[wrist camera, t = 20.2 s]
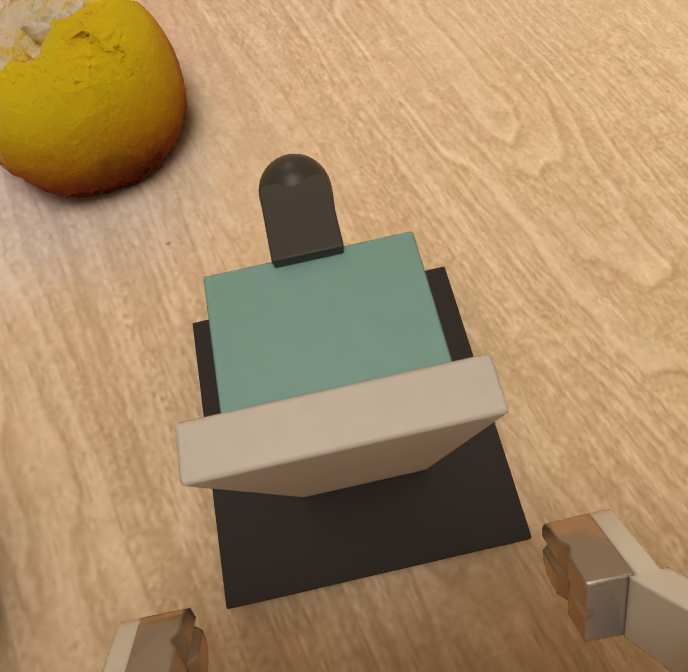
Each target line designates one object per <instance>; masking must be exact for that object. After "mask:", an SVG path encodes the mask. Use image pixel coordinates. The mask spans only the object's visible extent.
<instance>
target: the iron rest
mask: <svg viewBox="0 0 688 672" xmlns="http://www.w3.org/2000/svg"><path fill="white" fill-rule="evenodd" d="M425 274H426V277H427V280H428V283H429V287H430V290H431V293H432V297H433V300H434V303H435V307H436V310H437V313H438V317H439V320H440V323H441V327H442V330H443V333H444V337H445V340H446V343H447V347H448V350H449V353H450V357H451V360H452V362H453V361H457V360H462V359H466V358H471V357H473V354H472V351H471V348H470V344H469V341H468V338H467V335H466V332H465V329H464V326H463V323H462V320H461V316H460V313H459V310H458V307H457V304H456V301H455V298H454V295H453V292H452V289H451V285H450V282H449V279H448V276H447V273H446V270H445V267H440V268H435V269H431V270H427V271H425ZM193 330H194V338H195V347H196V355H197V363H198V372H199V380H200V389H201V397H202V405H203V414H204V417H207V416H212V415H216V414H221V411H220V403H219V395H218V388H217V380H216V372H215V364H214V356H213V348H212V340H211V333H210V325H209V320H205V321H200V322H196V323H193ZM213 498H214V506H215V515H216V523H217V531H218V540H219V548H220V557H221V565H222V573H223V582H224V590H225V599H226V607H227V609H231V608H235V607H239V606H243V605H248V604H252V603H256V602H261V601H265V600H269V599H274V598H278V597H282V596H287V595H291V594H295V593H299V592H304V591H308V590H312V589H317V588H321V587H325V586H330V585H334V584H338V583H343V582H347V581H351V580H356V579H360V578H364V577H368V576H373V575H377V574H381V573H386V572H390V571H394V570H399V569H403V568H407V567H412V566H416V565H420V564H424V563H429V562H433V561H437V560H442V559H446V558H450V557H455V556H459V555H463V554H468V553H472V552H476V551H481V550H485V549H489V548H493V547H498V546H502V545H506V544H511V543H515V542H519V541H524V540H528V539H531V534H530V531H529V528H528V525H527V522H526V519H525V515H524V512H523V509H522V506H521V503H520V500H519V497H518V494H517V491H516V487H515V484H514V481H513V478H512V475H511V472H510V469H509V466H508V463H507V459H506V456H505V453H504V450H503V447H502V444H501V441H500V438H499V435H498V432H497V428H496V425H495V422H493V423H492V424H491V425H489V426H488V427H486V428H485V429H483V430H482V431H481V432H479V433H478V434H476V435H475V436H473V437H472V438H470V439H469V440H468V441H466V442H465V443H463V444H462V445H460V446H459V447H458V448H456V449H455V450H453V451H452V452H450V453H449V454H448V455H446V456H445V457H443V458H442V459H440V460H439V461H437V462H436V463H435V464H433V465H432V466H430V467H429V468H427V469H426V470H422V471H418V472H413V473H409V474H404V475H400V476H396V477H391V478H387V479H382V480H378V481H373V482H369V483H365V484H360V485H356V486H351V487H347V488H342V489H338V490H334V491H329V492H325V493H320V494H316V495H312V496H307V497H297V496H287V495H276V494H265V493H254V492H243V491H233V490H222V489H213Z"/></svg>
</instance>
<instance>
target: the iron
mask: <svg viewBox="0 0 688 672" xmlns="http://www.w3.org/2000/svg"><path fill="white" fill-rule="evenodd" d="M259 198H260V203H261V206H262V211H263V217H264V222H265V228H266V233H267V238H268V244H269V249H270V255H271V260H272V262H271V263H266V264H262V265H257V266H253V267H248V268H244V269H239V270H235V271H230V272H226V273H221V274H217V275H212V276H207V277H205V278H204V286H205V293H206V301H207V309H208V317H209V325H210V333H211V340H212V348H213V356H214V364H215V372H216V380H217V388H218V395H219V403H220V411H221V414H216V415H212V416H207V417H203V418H198V419H194V420H189V421H185V422H180V423H179V424H177V425H176V439H177V450H178V461H179V471H180V482H181V483H182V485H183V486H190V487H200V488H211V489H222V490H233V491H243V492H254V493H265V494H276V495H287V496H297V497H307V496H312V495H316V494H320V493H325V492H329V491H334V490H338V489H342V488H347V487H351V486H356V485H360V484H365V483H369V482H373V481H378V480H382V479H387V478H391V477H396V476H400V475H404V474H409V473H413V472H418V471H422V470H426V469H427V468H429V467H430V466H432V465H433V464H435V463H436V462H437V461H439V460H440V459H442V458H443V457H445V456H446V455H448V454H449V453H450V452H452V451H453V450H455V449H456V448H458V447H459V446H460V445H462V444H463V443H465V442H466V441H468V440H469V439H470V438H472V437H473V436H475V435H476V434H478V433H479V432H481V431H482V430H483V429H485V428H486V427H488V426H489V425H491V424H492V423H493V422H495V421H496V420H498V419H499V418H501V417H502V416H503V415H505V414H506V413H508V405H507V402H506V399H505V396H504V393H503V389H502V386H501V383H500V380H499V377H498V374H497V371H496V368H495V365H494V362H493V359H492V357H491V356H490V355H487V354H484V355H480V356H475V357H471V358H466V359H462V360H457V361H453V362H452V360H451V357H450V353H449V350H448V347H447V343H446V340H445V337H444V333H443V330H442V327H441V323H440V320H439V317H438V313H437V310H436V307H435V303H434V300H433V297H432V293H431V290H430V287H429V283H428V280H427V277H426V274H425V270H424V267H423V264H422V260H421V257H420V254H419V250H418V247H417V244H416V240H415V237H414V234H413V232H406V233H402V234H397V235H393V236H388V237H384V238H379V239H375V240H370V241H366V242H361V243H357V244H352V245H348V246H344V245H343V240H342V236H341V232H340V228H339V224H338V220H337V216H336V212H335V206H334V199H333V192H332V185H331V182H330V179H329V176H328V174H327V173H326V171H325V170H324V168H323V167H322V166H321V165H320V164H319V163H318V162H317V161H315V160H314V159H312V158H310V157H308V156H305V155H301V154H288V155H284V156H281V157H279V158H277V159H275V160H274V161H273V162H271V163H270V164H269V165H268V166H267V168H266V169H265V171H264V172H263V174H262V177H261V179H260V184H259Z"/></svg>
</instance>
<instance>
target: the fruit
mask: <svg viewBox="0 0 688 672" xmlns="http://www.w3.org/2000/svg"><path fill="white" fill-rule="evenodd" d="M186 108H187V106H186V90H185V85H184V80H183V76H182V72H181V69H180V65H179V62H178V59H177V57H176V54H175V52H174V49H173V47H172V45H171V44H170V42H169V40H168V38H167V36H166V34H165V33H164V31H163V30H162V28H161V27H160V26H159V24H158V23H157V21H156V20H155V19H154V17H153V16H152V15H151V14H150V13H149V12H148V11H147V10H146V9H145V8H144V7H143V6H142V5H141V4H140V3H138V2H137V1H135V0H133V1H131V0H11V1H10V2H9V4H6V5H4V7H3V9H2V10H1V11H0V164H1V165H2V166H3V167H4V168H5V169H6V170H8V171H9V172H10V173H11V174H12V175H15V176H18V177H21V178H23V179H24V180H25V181H27V182H29V183H31V184H33V185H35V186H36V187H39V188H41V189H43V190H45V191H47V192H53V193H56V194H60V195H61V196H67V197H69V196H72V197H76V198H78V199H79V198H80V197H87V196H91V195H94V194H98V193H100V192H102V193H110V192H112V191H114V190H117V189H119V188H127V187H129V186H131V185H134V184H137V183H138V182H140V181H141V180H143V179H144V178H146V177H148V176H149V175H150V174H152V173H153V172H155V171H156V170H158V169H159V168H160V167H161V165H162V163H163V162H164V161H165V160H166V158H167V156H168V155H169V154H170V152H171V151H172V149H173V148H174V146H175V144H176V142H177V141H178V138H179V136H180V132H181V130H182V128H183V123H184V120H185V111H186Z"/></svg>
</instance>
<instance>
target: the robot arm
mask: <svg viewBox="0 0 688 672" xmlns="http://www.w3.org/2000/svg"><path fill="white" fill-rule="evenodd" d="M542 536H543V538H544V540H545V541H546V543H547V545H546V546H545V548H544V549H543V560H544V564H545V568H546V572H547V574H548V577H549V579H550V581H551V584H552V585H553V587H554V589H555V591H556V593H557V594H558V595H560V596H561V597H563V598H564V599H566V600H568V614H569V616H570V618H571V619H572V621H573V623H574V625H575V626H576V628H577V630H578V632H579V633H580V635H581V637H582V639H583V640H584V642H589V641H594V640H599V639H604V638H608V637H613V636H618V635H623V634H625V635H624V637H626V638H627V639H628V640H630V641H631V642H632V643H634V644H635V645H636V646H638V647H639V648H640V649H641V650H643V651H644V652H645V653H647V654H648V655H649V656H651V657H652V658H653V659H655V660H656V661H657V662H659V663H660V664H661V665H663V666H664V667H665V668H667V669H668V670H669V671H671V672H688V578H687V577H685V576H683V575H682V574H680V573H678V572H676V571H674V570H672V569H670V568H664V569H661V568H660V567H659V565H658V564H657V563H656V562H655V561H654V559H653V558H652V557H651V556H650V555H649V553H648V552H647V551H646V550H645V549H644V547H643V546H642V545H641V544H640V543H639V541H638V540H637V539H636V538H635V537H634V535H633V534H632V533H631V532H630V531H629V529H628V528H627V527H626V526H625V525H624V523H623V522H622V521H621V520H620V519H619V517H618V516H617V515H616V514H615V512H613V511H611V510H610V509H607V510H602V511H598V512H594V513H590V514H587V515H586V514H583V515H579V516H575V517H571V518H567V519H563V520H559V521H555V522H551V523H547V524H544V526H543V528H542ZM195 619H196V617H195V615H194V613H193V612H192V610H191V608H188V609H183V610H178V611H173V612H168V613H163V614H158V615H153V616H148V617H143V618H139V619H134V620H130V621H125V622H121V624H120V625H119V627H118V628H117V629H116V631H115V634H114V637H113V640H112V643H111V646H110V649H109V652H108V655H107V658H106V661H105V664H104V667H103V670H102V672H208V664H209V654H208V644H207V640H206V636H205V634H204V632H203V630H202V629H200V628H198V627H196V626H194V625H195Z"/></svg>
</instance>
